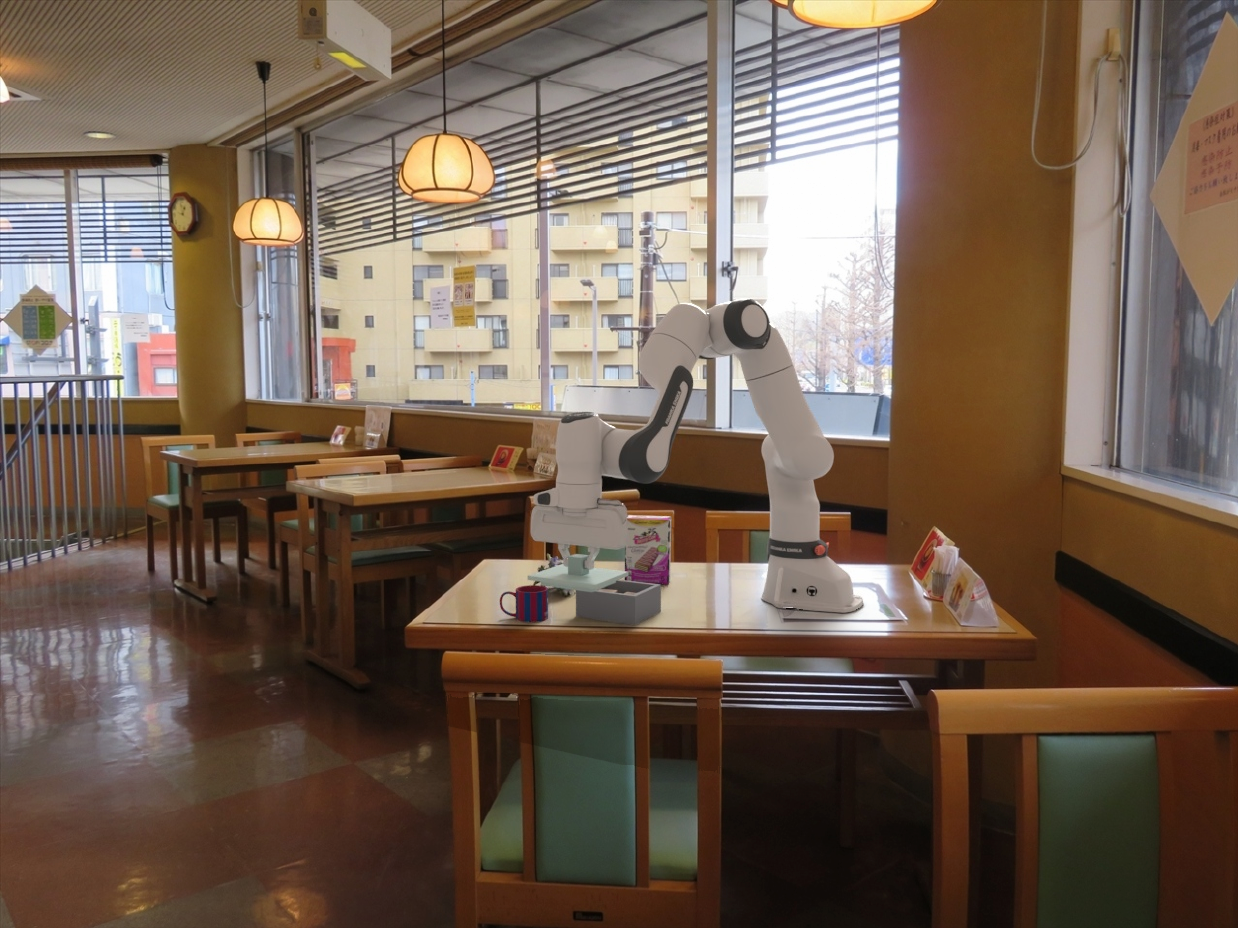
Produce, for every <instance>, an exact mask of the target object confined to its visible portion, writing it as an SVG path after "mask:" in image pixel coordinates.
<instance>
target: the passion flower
mask: <svg viewBox="0 0 1238 928" xmlns="http://www.w3.org/2000/svg"><path fill="white" fill-rule="evenodd" d="M546 557H547V561H548V564H547V565H548V567H546V565H544V564H541V565H540V567H539V566H538V568H537V572H540V571H543V570H546V569H549V568H552V567H555V566H558V565H561V564H563V559H560V558H559V557H558V556H554V557H551V554H549V553H546ZM545 567H546V568H545ZM538 584H540V585H539V586H542V585H541V582H540V581H533V584H532V585H538ZM555 588H556V590H558V591H560V593H561V595H563V596H565V598H566V597H567V596H574V595H575V590H572V589H564V588H557V587H555Z"/></svg>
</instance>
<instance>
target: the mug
mask: <svg viewBox="0 0 1238 928" xmlns="http://www.w3.org/2000/svg"><path fill="white" fill-rule="evenodd" d="M505 595H512V596H513V597H515V613H514V612H509V611H507V610H506V609H505V608H504V606H503V598H504V596H505ZM499 597H500V598H499V607H500V610H501V611H502V612H503V613H504V614H505V615H506V616H507V615H508V616H510V617H514V618H515V619H516V620H517V621H518V622H523V623H539V622H544V621H546V620H548V619H549V588H548V586H540V585H538V584H536V585H533V584H529V585H521V586H517V587H516V588H515V592H514V591H504V592H503V593H502V594H501V595H500V596H499Z"/></svg>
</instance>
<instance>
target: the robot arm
mask: <svg viewBox="0 0 1238 928" xmlns="http://www.w3.org/2000/svg"><path fill="white" fill-rule="evenodd" d="M733 355H734V356H735V357H736V358H737V360H738V361H739V363H740V368H741V370H742V375H743V378H744V381H745V385H746V386H747V390H748V392H749V395H750V398H751V401H752V404H753V407H754V410H755V413H756V415H757V416H758V417H759V419H760V420H761V422H762V424H763V425H764V428H765V430H766V431H767V436H766V437H764V440H763V441H762V443H761V451H760V452H761V456H762V459H763V462H764V467H765V476H766V482H767V483H766V484H767V488H768V490H767V491H768V495H769V536H768V537H767V544H766V545H767V546H766V556H767V561H768V563H767V564H768V565H767V571H766V578H765V584H764V588H763V591H762V595H761V599H762V601H765V602H766V603H769V604H772V605H773V606H774V607H775V608H778V609H784V608H783V607H793V608H797V609H796V610H799V609H803V610H802V611H814V612H815V611H816V612H827V613H828V612H830V613H850V612H854V611H857V610H859V609H860V608H861V607H862V606H863V605H864V598H863V597H862V596H861V595H858V594H854V588H853V581H852V578H851V576H850V574H849V573H848V572H847V571H846V570H844V569H843V568H842V567H841V566H840V565H838V563H836V561H834V560H833V559H832V558H830V557H829V556H828V554H829V553H828V551H829V549H828V548H829V547H830V546H829V545H830V542H829V541H828V542H825V541H824V540H823V539H821V538H820V519H821V518H820V517H821V515H820V513H821V512H820V510H821V504H820V501H819V499H818V496H817V492H816V487H815V483H814V480H816V479H819V478H822V477H824V476H825V475H826V474H827V473H828V472H829V471H831V468H832V466H833V464H834V459H835V454H834V453H835V452H834V449H833V447H832V445H831V443H830V442H829V441H828V439H826V437H825V436H824V433H823V432H822V429H821V427H820V425H819V423H818V420H817V419H816V417H815V415H814V414H813V412H812V410H811V408H810V406H809V404H808V402H807V400H806V398H805V395H804V392H803V389H802V386H801V384H800V381H799V379H798V374H797V372H796V369H795V365H794V363H793V359H792V357H791V354H790V352H789V350H788V347H787V345H786V343H785V341H784V338H782V335H781V333H780V332H779V330H778V329H777V327H776V326H775V325H773V324H772V323H771V321H770V318H769V315H768V313H767V311H766V310H765V309H764V307H763V306H762V305H761V303H760V302H759V301H757V300H754V299H751V298H737V299H734V300H732V301H726V302H723V303H719V304H715V305H713V306H712V307H710V308H708V309H705V310H703V309H702V308H700V307H699V306H698V305H695V304H693V303H689V302H688V303H687V302H682V303H681V302H680V303H678V304H675V305H674V306H673V307H671V308H670V309H669V311H668V312H667V313H666V314H665V315H664V316H663V317H662V318H661V320H660V321H659V322H658V324H657V325H656V326H655V328H654V329H653V331H652V332H651V334H650V336H649V337H648V339H647V340H646V342H645V343H644V345H643V347H642V349H641V352H640V355H639V358H638V367H639V371H640V374H641V376H642V377H643V379H644V380H645V381H646V382H647V384H648V385H649V386H651V388H653V389H654V390H655V391H657V392H659V393H658V398H657V400H656V402H655V405H654V407H653V410H652V412H651V414H650V416H649V420H648V422H647V423H646V424H645V425H643V426H642V427H640V428H638V429H635V430H634V429H626V428H625V429H623V428H616V426H613V425H611V424H608V423H607V422H606V421H604V420H602V419H601V418H600V415H599V414H598V413H597V412H594V411H579V412H573V413H569V414H567V415H565V416H563V417H562V418H561V419H560V420H559V423H558V426H557V431H556V440H555V441H556V443H555V462H556V463H557V475H556V479H555V487H552V488H548V490H545V491H541V492H537V493H535V494H534V495H533V497H532V499H533V500H532V501H533V504H534V505H535V506H534V507H533V508H532V510H531V516H530V536H531V538H532V540H534V542H535V541H536V542H541V543H542V542H543V543H551V544H557V548H558V549H557V550H558V551H559V553H560V555H561V557H562V558H563V559H562V560H563V565H564V567H568V556H571V555H572V554H571V553H570V550H569V548H570V547H571V546H578V547H579V546H580V547H581V546H582V547H586V548H587V552H588V553H589V557H588V559H586V560H583V564H584V565H583V568H584V569H588V570H591V569H593V568H595V559H596V558H597V556H598V554H599V553H600V550H601V549H608V550H616V551H617V550H621V549H625V546H626V545H627V544H628V529H627V521H626V519H627V515H628V508H627V507H626V505H625V504H624V503H623V502H621V501H620V500H619V499H608V498H607V499H606V498H602V497H603V493H602V492H603V491H602V490H603V489H602V487H603V478H602V476H603V477H612V478H614V479H623V480H629V481H632V482H636V483H639V484H644V485H646V484H651V483H653V482H656V481H657V480H658V479H659V478H661V476H663V474H664V473H665V471H666V470H667V467H668V465H669V462H670V459H671V452H672V447H673V443H674V441H675V438H676V435H677V433H678V430H679V428H680V425H681V422H682V420H683V418H684V415H685V413H686V410H687V407H688V405H689V402H690V400H691V396H692V393H693V389H694V378H693V375H692V371H693V369H694V367H695V365H696V364H697V362H698V359H701V360H713V359H715V358H722V357H723V358H725V357H729V356H733ZM858 608H859V609H858ZM856 609H857V610H856Z"/></svg>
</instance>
